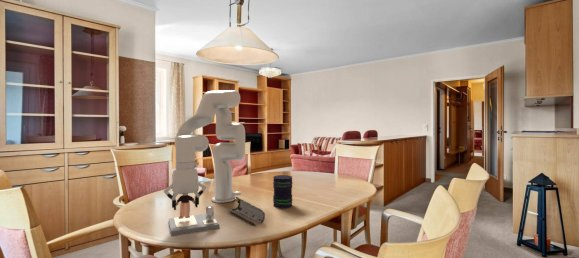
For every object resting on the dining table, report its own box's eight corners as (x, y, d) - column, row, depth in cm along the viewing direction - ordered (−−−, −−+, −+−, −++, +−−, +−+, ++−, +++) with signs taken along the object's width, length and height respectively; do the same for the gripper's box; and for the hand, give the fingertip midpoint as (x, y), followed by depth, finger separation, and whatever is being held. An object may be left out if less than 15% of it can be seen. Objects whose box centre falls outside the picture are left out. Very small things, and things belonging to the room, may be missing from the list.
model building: (234, 215, 138) (261, 231, 118) (224, 207, 135) (251, 222, 115) (243, 202, 141) (271, 216, 121) (234, 194, 138) (262, 207, 118)
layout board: (211, 216, 128) (211, 212, 128) (219, 227, 114) (219, 223, 114) (168, 222, 120) (168, 217, 120) (171, 235, 106) (171, 230, 106)
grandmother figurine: (176, 220, 113) (176, 188, 113) (175, 217, 117) (175, 186, 116) (196, 217, 117) (195, 186, 116) (194, 214, 120) (194, 185, 120)
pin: (212, 219, 118) (212, 205, 118) (214, 222, 115) (214, 207, 115) (205, 220, 117) (205, 206, 117) (206, 223, 114) (206, 208, 114)
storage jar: (277, 209, 138) (277, 179, 138) (270, 204, 147) (270, 175, 147) (295, 207, 142) (295, 177, 142) (287, 202, 151) (287, 174, 151)
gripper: (205, 163, 123) (205, 203, 124) (162, 165, 116) (162, 208, 116) (208, 165, 117) (208, 207, 117) (162, 168, 109) (162, 213, 109)
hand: (185, 207), depth 117 cm, fingers closed on grandmother figurine, 7 cm apart
